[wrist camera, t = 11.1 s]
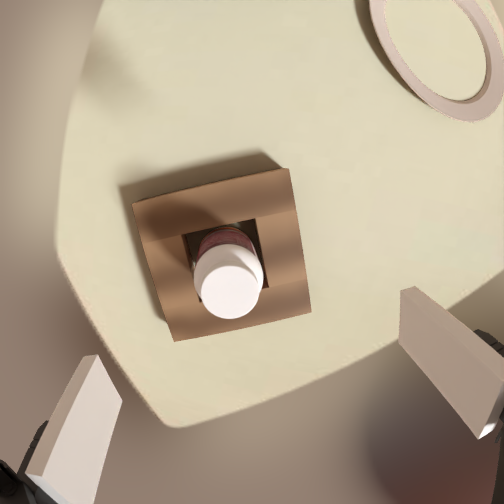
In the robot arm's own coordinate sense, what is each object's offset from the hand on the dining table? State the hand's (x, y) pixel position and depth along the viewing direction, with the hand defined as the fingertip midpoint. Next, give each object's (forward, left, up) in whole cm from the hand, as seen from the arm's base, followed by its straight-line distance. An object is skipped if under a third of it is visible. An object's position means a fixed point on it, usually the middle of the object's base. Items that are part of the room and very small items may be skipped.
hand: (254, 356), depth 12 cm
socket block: (+2, -1, -23) cm, 24 cm away
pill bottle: (+2, -1, -24) cm, 24 cm away
